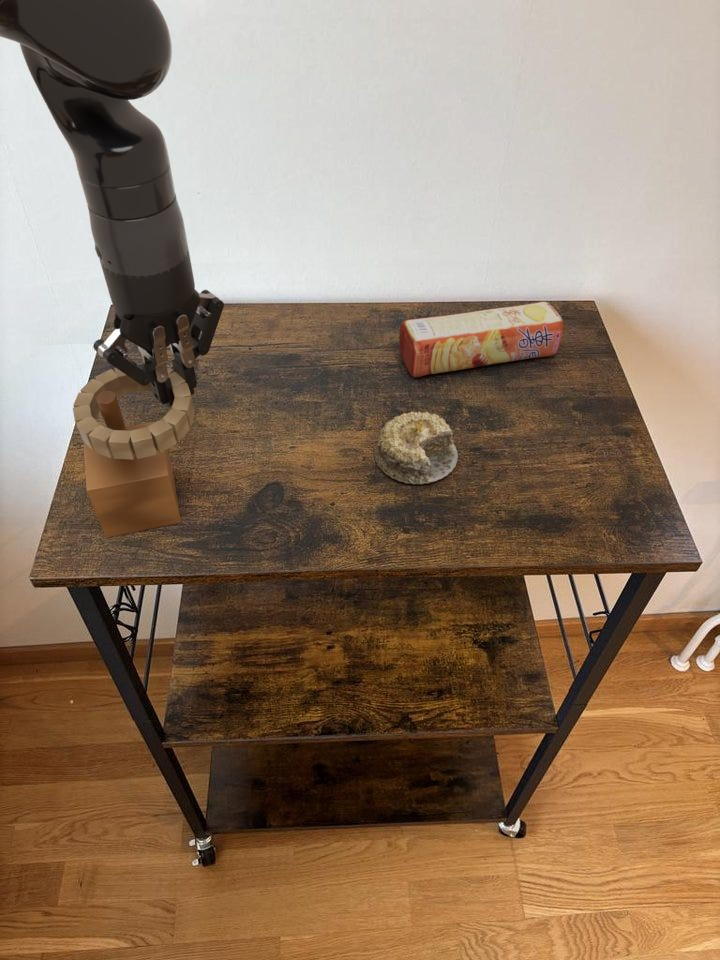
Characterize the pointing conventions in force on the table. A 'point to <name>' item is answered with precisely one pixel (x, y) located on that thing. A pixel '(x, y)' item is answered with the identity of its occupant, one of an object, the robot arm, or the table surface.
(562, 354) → the table surface
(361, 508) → the table surface
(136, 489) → the post
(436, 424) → the cake
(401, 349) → the snack package
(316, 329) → the table surface
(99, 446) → the ring
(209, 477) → the table surface
